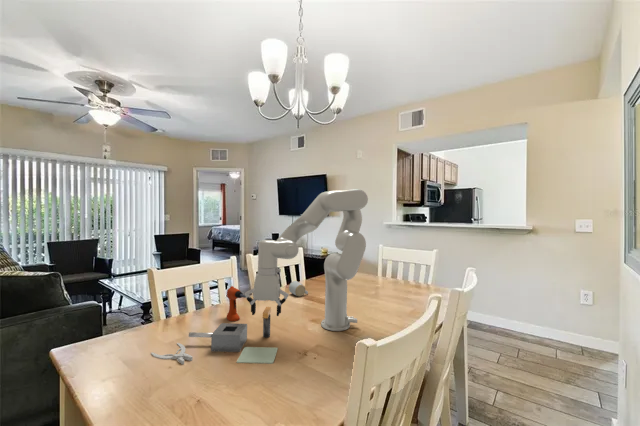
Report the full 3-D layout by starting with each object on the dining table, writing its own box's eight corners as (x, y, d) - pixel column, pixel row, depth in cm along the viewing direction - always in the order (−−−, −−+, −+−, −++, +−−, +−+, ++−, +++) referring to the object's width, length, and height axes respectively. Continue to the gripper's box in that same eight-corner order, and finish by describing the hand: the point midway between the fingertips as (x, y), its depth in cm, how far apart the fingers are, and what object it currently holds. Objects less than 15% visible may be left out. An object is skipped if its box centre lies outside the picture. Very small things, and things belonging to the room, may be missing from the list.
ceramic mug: (295, 298, 163) (296, 284, 163) (288, 294, 170) (288, 281, 170) (310, 295, 170) (311, 282, 170) (303, 291, 176) (303, 279, 176)
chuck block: (246, 339, 111) (247, 323, 111) (239, 352, 101) (239, 335, 101) (195, 338, 111) (195, 322, 111) (182, 350, 101) (183, 333, 101)
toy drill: (240, 327, 118) (239, 290, 119) (224, 319, 133) (223, 286, 134) (251, 324, 121) (250, 288, 122) (235, 316, 136) (234, 284, 137)
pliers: (178, 340, 106) (201, 352, 97) (178, 344, 106) (201, 357, 97) (150, 350, 98) (172, 365, 89) (150, 355, 98) (172, 370, 89)
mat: (277, 348, 104) (277, 347, 104) (273, 363, 94) (273, 362, 94) (244, 348, 104) (244, 346, 104) (236, 362, 94) (236, 361, 94)
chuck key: (271, 332, 117) (272, 306, 117) (268, 340, 110) (268, 313, 110) (264, 332, 117) (265, 306, 117) (261, 340, 110) (261, 313, 110)
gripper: (290, 270, 117) (288, 311, 117) (248, 268, 117) (246, 310, 117) (288, 274, 110) (286, 318, 110) (243, 272, 110) (241, 317, 110)
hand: (265, 314), depth 113 cm, fingers open, 9 cm apart
